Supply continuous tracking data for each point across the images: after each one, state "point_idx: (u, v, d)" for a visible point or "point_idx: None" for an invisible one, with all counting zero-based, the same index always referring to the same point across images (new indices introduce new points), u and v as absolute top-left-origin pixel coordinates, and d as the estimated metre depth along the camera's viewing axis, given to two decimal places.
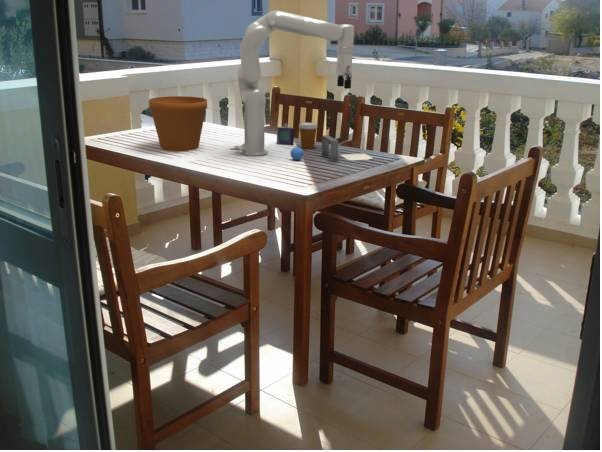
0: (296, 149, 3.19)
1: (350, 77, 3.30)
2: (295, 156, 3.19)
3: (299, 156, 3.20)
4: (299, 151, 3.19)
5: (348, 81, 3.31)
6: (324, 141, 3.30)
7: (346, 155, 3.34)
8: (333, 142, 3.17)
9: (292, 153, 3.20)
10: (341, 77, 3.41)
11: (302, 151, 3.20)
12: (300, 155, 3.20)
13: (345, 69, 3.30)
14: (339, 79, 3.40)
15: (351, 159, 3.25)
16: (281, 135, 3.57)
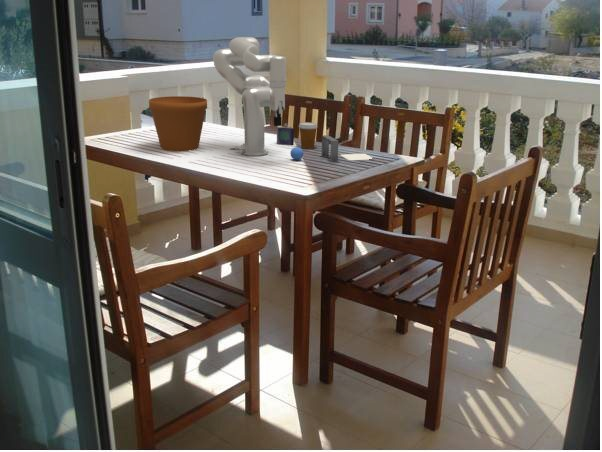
0: (296, 149, 3.19)
1: (280, 113, 3.11)
2: (295, 156, 3.19)
3: (299, 156, 3.20)
4: (299, 151, 3.19)
5: (278, 118, 3.13)
6: (324, 141, 3.30)
7: (346, 155, 3.34)
8: (333, 142, 3.17)
9: (292, 153, 3.20)
10: None
11: (302, 151, 3.20)
12: (300, 155, 3.20)
13: (276, 109, 3.08)
14: None
15: (351, 159, 3.25)
16: (281, 134, 3.57)
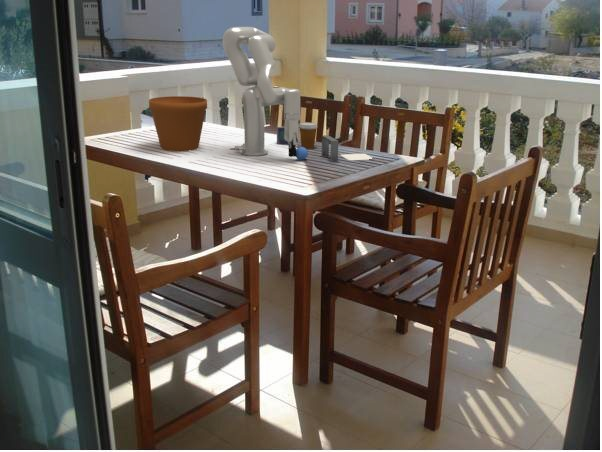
0: (303, 149, 3.20)
1: None
2: (299, 154, 3.20)
3: (303, 156, 3.20)
4: (305, 152, 3.20)
5: (293, 149, 3.18)
6: (324, 141, 3.30)
7: (346, 155, 3.34)
8: (333, 142, 3.17)
9: (298, 150, 3.20)
10: None
11: (307, 153, 3.21)
12: (304, 156, 3.20)
13: (291, 141, 3.14)
14: None
15: (351, 159, 3.25)
16: (281, 135, 3.57)
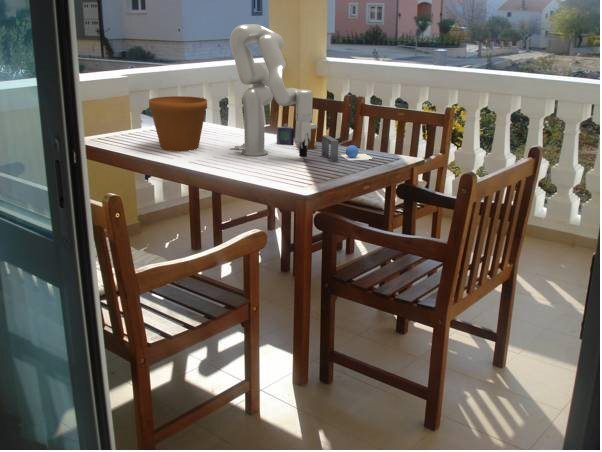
0: (356, 155, 3.28)
1: (305, 145, 3.20)
2: (355, 149, 3.26)
3: (352, 151, 3.26)
4: (354, 155, 3.27)
5: (304, 150, 3.21)
6: (324, 141, 3.30)
7: (346, 155, 3.34)
8: (333, 142, 3.17)
9: (357, 149, 3.28)
10: None
11: (350, 157, 3.28)
12: (352, 153, 3.26)
13: (303, 141, 3.17)
14: None
15: (351, 159, 3.25)
16: (281, 134, 3.57)
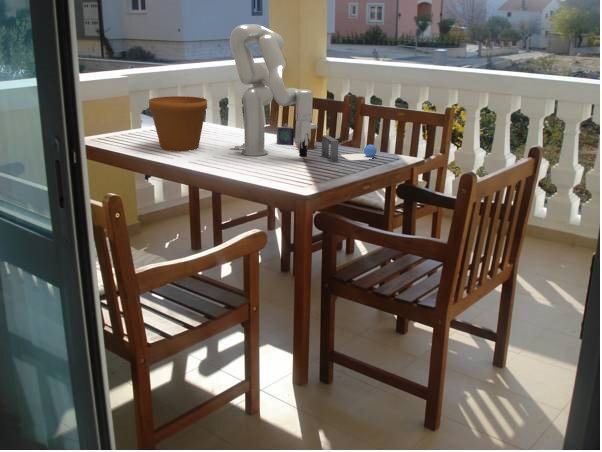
0: (367, 148, 3.29)
1: (305, 145, 3.20)
2: (370, 154, 3.29)
3: (374, 152, 3.29)
4: (371, 148, 3.29)
5: (304, 150, 3.21)
6: (324, 141, 3.30)
7: (346, 155, 3.34)
8: (333, 142, 3.17)
9: (366, 154, 3.30)
10: None
11: (373, 146, 3.29)
12: (374, 151, 3.29)
13: (303, 141, 3.17)
14: None
15: (351, 159, 3.25)
16: (281, 134, 3.57)
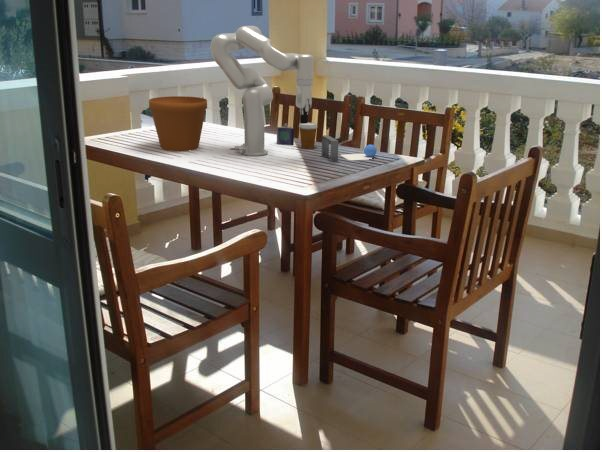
0: (367, 148, 3.29)
1: (306, 111, 3.15)
2: (370, 154, 3.29)
3: (374, 152, 3.29)
4: (371, 148, 3.29)
5: (304, 116, 3.16)
6: (324, 141, 3.30)
7: (346, 155, 3.34)
8: (333, 142, 3.17)
9: (366, 154, 3.30)
10: None
11: (373, 146, 3.29)
12: (374, 151, 3.29)
13: (303, 107, 3.12)
14: None
15: (351, 159, 3.25)
16: (281, 134, 3.57)
